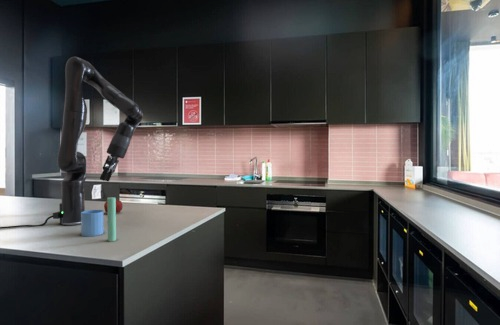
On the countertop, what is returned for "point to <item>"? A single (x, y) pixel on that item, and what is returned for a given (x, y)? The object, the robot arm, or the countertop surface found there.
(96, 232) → the cup
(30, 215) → the countertop surface
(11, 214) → the countertop surface
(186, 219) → the countertop surface
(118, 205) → the tomato
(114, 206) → the mint green tapered cylinder
